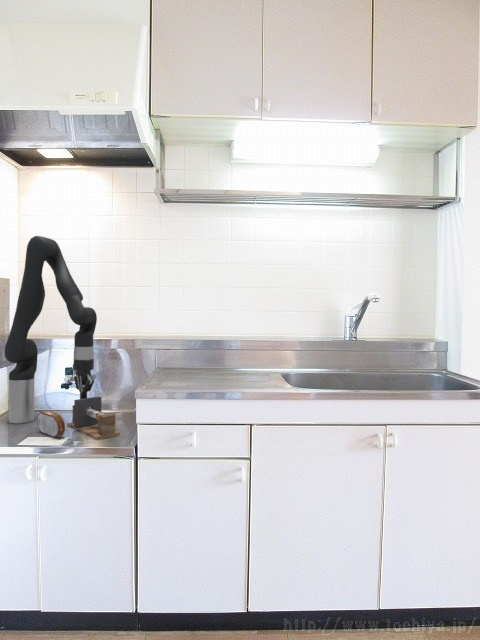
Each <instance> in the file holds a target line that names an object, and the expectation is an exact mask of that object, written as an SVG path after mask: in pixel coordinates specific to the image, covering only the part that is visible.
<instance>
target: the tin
mask: <svg viewBox="0 0 480 640" xmlns="http://www.w3.org/2000/svg"><path fill="white" fill-rule="evenodd" d="M37 427H38V429H39V431H40V432H41V433H42V434H44V435H47V436H49V437H52V438H55V439H56V438H59V437H62V436H64V435H65V431H66V423H65V420H64V417H62V415H61V414H59V413H58V412H54V411H51V410H48V409H46V410H43V411H40V412H39V413H38V414H37Z"/></svg>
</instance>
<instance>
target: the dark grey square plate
mask: <svg viewBox="0 0 480 640" xmlns="http://www.w3.org/2000/svg"><path fill="white" fill-rule="evenodd" d="M73 405H74V426H75V427H80V426H85V425H90V424H95V423H98V420H96V418H93V417H91V416H88V415H85V408H91V409H93V410H96V411H99V412H102V397H101V396H91V397H87V398H84V399H80V398H79V399H74V404H73Z"/></svg>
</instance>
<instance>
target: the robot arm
mask: <svg viewBox="0 0 480 640" xmlns="http://www.w3.org/2000/svg"><path fill="white" fill-rule="evenodd" d="M61 250H62V249H61V248H60V246H59V243H57V241H55V240H54V239H53V238H49V237H45V236H41V235H34V236H33V237H31V238H30V239H29V241H28V243H27V245H26V252H25V262H24V269H23V273H22V274H23V276H22V280H21V285H20V290H19V294H18V297H17V303H16V308H15V313H14V315H13V319H12V320H13V321H12V325H11V328H10V331H9V335H8V337H7V339H6V343H5V346H4V357H5V360H7V362H8V363H11V364H16V365H15V367H14V368H13V369H12V370H11V371H9V373H8V423H10V424H26V423H31V422H33V421H34V420H35V375H36V372H37V367H38V356H39V355H38V346H37V343H36V342H35V341H34V340H33V339H29V338H28V334H29V331H30V329H31V327H32V326H34V323H35V322H36V320H37V319H38V318H39V316H40V314H41V313H42V310H43V306H44V303H45V299H46V298H45V297H46V290H45V285H44V282H43V281H44V280H43V268H44V264H45V262H46V263H47V264H48V265H49V267H50V268H51V270H52V272H53V274H54V279H55V284H56V289H57V291H58V293H59V294H60V296H61V298H62V300H63V302H64V303H65V305H66V309H67V312H68V316H69V318H70V320H71V321H72V322H73V323H74V324H75V325H77V326H79V329H78V331H77V332H75V334H74V341H73V342H74V344H73V345H74V346H73V348H74V349H73V370H74V371H76V376H75V375H74V376H73V381H74V384H75V388H76V390H78V391H79V399H84V398H88V392H91V390H92V387H93V385H94V383H95V379H92V378H91V376H92V374H91V371H93V370H94V369H95V365H94V364H95V349H94V334H95V331H96V326H97V321H98V316H97V312H96V310H95V309H94V308H93V307H90V306H89V307H88V306H86V307H85V306H84V304H83V302H82V301H83V299H84V295H83V293H82V291H81V290H80V289H79V287H78V285H77V283H76V282H75V280H74V278H73V276H72V274H71V273H70V271H69V268H68V266H67V263H66V261H65V258H64V256H63V252H62V251H61Z"/></svg>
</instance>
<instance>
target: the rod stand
mask: <svg viewBox="0 0 480 640" xmlns="http://www.w3.org/2000/svg"><path fill="white" fill-rule="evenodd" d="M71 415H72V417H71V419H72V422H67V427H69V428H71V429H74V430H75V431H77V432H79V433H82V434H84V435H86V436H88V437H89V438H92V439H94V440H96V441H99V440H103V439H108V438H112V437H116V436H120V435H121V434H120V433H121V432H120V431H118V430H116V414H114V413H104V412H103V411H101V412H99V411H96V410H93V409H91V408H85V415H88V416H91V417H93V418H96V420H98V423H95V424H90V425H85V426H80V427H75V426H74V404H73V405H72V414H71Z"/></svg>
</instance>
